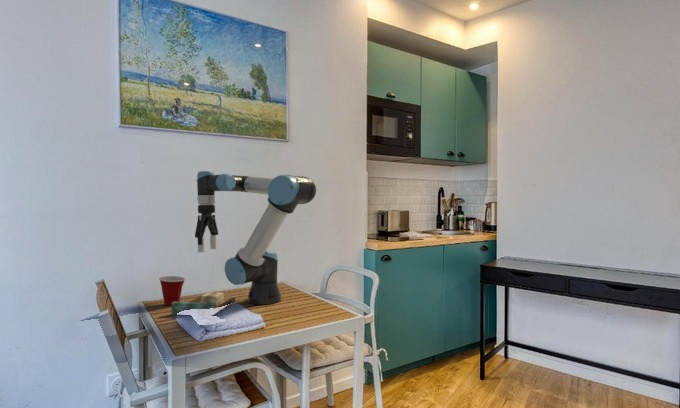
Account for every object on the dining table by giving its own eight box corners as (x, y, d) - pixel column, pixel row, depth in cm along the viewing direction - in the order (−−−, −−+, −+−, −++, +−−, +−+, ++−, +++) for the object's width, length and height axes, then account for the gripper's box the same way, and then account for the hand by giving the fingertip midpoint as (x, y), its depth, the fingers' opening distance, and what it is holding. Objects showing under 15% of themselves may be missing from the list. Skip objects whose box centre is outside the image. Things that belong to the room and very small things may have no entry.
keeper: (223, 302, 180) (223, 292, 180) (216, 306, 173) (216, 296, 173) (209, 301, 181) (209, 292, 181) (201, 306, 174) (201, 295, 174)
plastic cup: (184, 306, 172) (184, 279, 172) (157, 308, 169) (157, 280, 169) (186, 300, 182) (186, 274, 182) (160, 302, 179) (160, 275, 179)
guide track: (235, 301, 181) (235, 290, 181) (211, 317, 157) (211, 304, 157) (200, 300, 183) (200, 289, 183) (171, 315, 160) (171, 302, 160)
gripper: (209, 204, 196) (210, 247, 196) (185, 204, 171) (187, 253, 171) (224, 204, 196) (225, 247, 196) (202, 204, 171) (203, 253, 171)
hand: (207, 250), depth 183 cm, fingers open, 13 cm apart
